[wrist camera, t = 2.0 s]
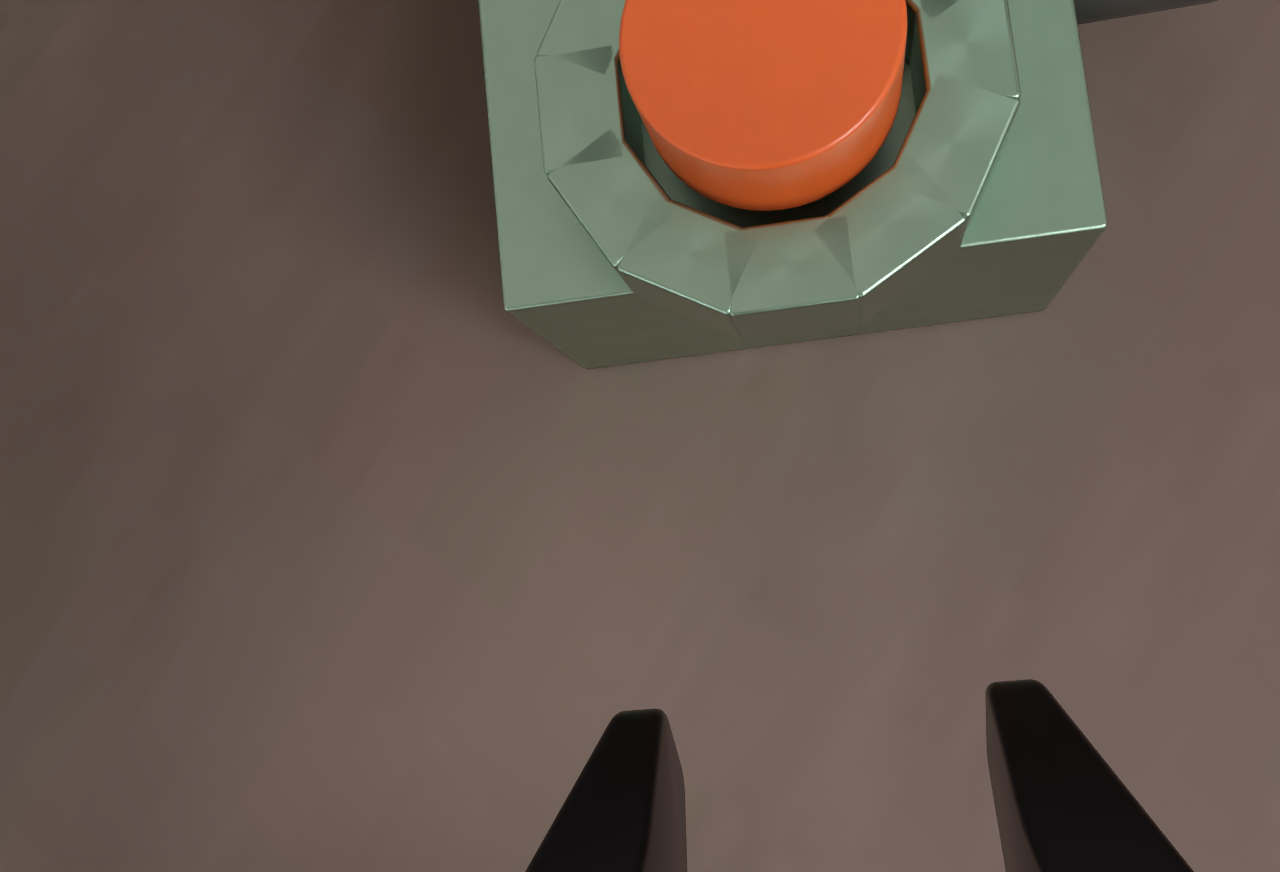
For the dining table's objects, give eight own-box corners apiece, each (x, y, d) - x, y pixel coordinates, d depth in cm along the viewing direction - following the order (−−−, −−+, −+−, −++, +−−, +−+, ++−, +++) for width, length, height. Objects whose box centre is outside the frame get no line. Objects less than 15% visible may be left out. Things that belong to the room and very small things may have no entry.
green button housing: (1052, 360, 22) (1150, 260, 15) (589, 416, 24) (471, 350, 16) (970, -222, 24) (1022, -572, 16) (538, -135, 25) (409, -421, 18)
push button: (917, 192, 16) (925, 144, 14) (655, 230, 17) (631, 189, 15) (884, -58, 16) (889, -135, 15) (631, -12, 17) (605, -81, 15)
